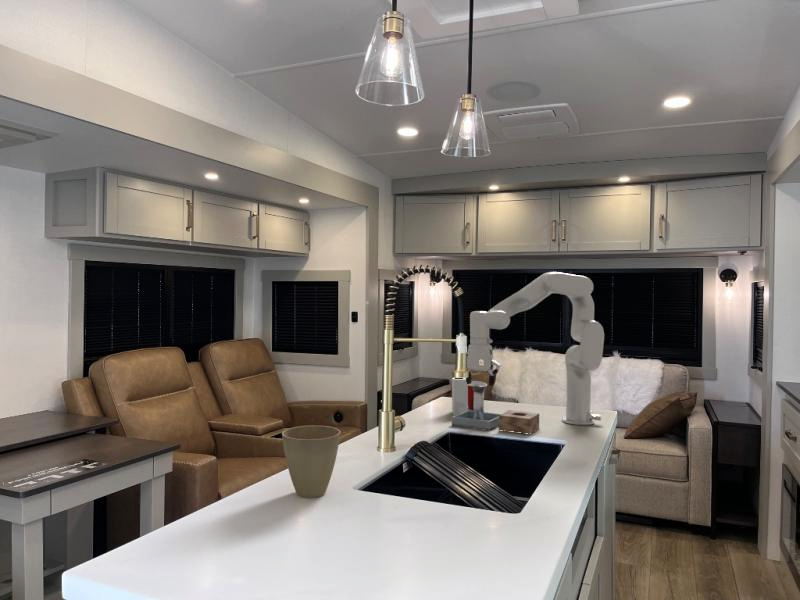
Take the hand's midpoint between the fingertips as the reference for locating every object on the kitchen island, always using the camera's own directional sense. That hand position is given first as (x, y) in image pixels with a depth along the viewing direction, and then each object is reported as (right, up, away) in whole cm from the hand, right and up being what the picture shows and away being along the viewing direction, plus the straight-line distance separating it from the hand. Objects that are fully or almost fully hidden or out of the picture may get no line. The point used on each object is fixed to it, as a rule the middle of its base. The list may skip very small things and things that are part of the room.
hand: (480, 384), depth 235 cm
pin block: (+14, -16, -9) cm, 23 cm away
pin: (-1, -15, 0) cm, 15 cm away
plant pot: (-55, -16, -84) cm, 102 cm away
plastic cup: (+2, -16, +33) cm, 37 cm away
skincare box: (-6, -16, +21) cm, 27 cm away
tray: (-1, -16, 0) cm, 16 cm away
